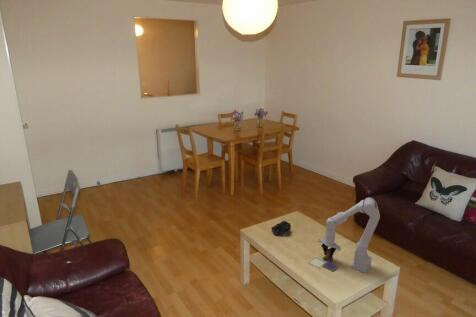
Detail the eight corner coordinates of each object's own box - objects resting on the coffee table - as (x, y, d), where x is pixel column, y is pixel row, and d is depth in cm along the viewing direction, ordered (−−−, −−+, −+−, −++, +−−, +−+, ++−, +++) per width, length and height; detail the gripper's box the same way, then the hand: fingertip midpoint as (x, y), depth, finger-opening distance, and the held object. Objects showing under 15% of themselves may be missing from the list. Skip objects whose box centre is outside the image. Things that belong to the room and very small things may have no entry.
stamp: (333, 259, 213) (334, 250, 210) (329, 262, 210) (330, 253, 207) (326, 256, 216) (327, 247, 213) (323, 259, 213) (323, 250, 210)
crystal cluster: (268, 230, 249) (268, 219, 244) (284, 225, 254) (284, 213, 250) (278, 240, 238) (277, 229, 233) (294, 234, 243) (294, 223, 238)
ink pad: (338, 267, 205) (338, 265, 205) (332, 272, 201) (333, 270, 201) (328, 262, 210) (328, 260, 210) (322, 266, 206) (322, 265, 206)
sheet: (327, 262, 210) (327, 262, 210) (319, 269, 204) (319, 268, 204) (315, 256, 216) (315, 256, 216) (306, 262, 210) (306, 262, 210)
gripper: (344, 238, 205) (342, 258, 209) (323, 230, 215) (321, 248, 219) (338, 243, 200) (336, 262, 205) (317, 234, 210) (315, 253, 215)
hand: (328, 255), depth 212 cm, fingers closed on stamp, 3 cm apart
